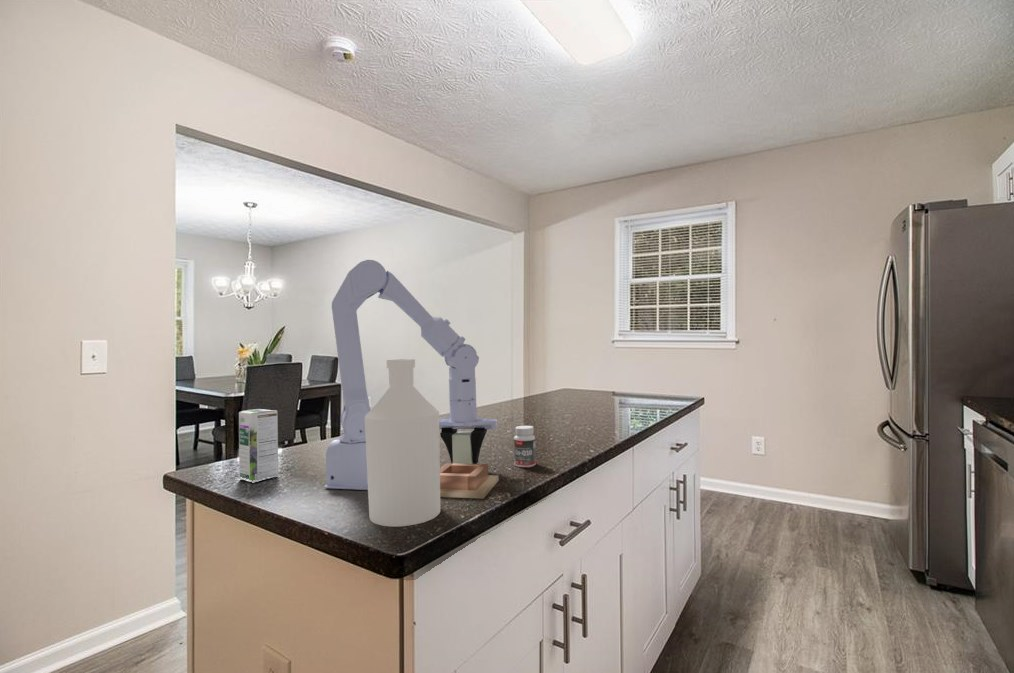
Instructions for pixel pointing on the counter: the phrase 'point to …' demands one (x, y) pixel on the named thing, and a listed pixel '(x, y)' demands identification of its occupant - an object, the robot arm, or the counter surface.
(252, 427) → the syrup box
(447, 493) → the socket block
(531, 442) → the pill bottle
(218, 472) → the counter surface
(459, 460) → the peg
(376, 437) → the bottle
